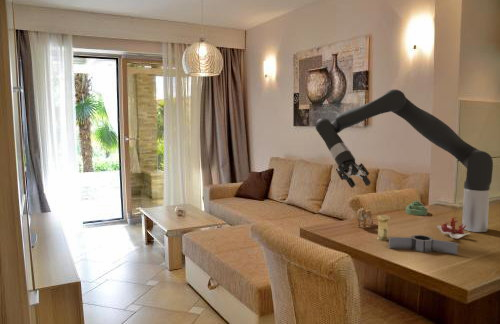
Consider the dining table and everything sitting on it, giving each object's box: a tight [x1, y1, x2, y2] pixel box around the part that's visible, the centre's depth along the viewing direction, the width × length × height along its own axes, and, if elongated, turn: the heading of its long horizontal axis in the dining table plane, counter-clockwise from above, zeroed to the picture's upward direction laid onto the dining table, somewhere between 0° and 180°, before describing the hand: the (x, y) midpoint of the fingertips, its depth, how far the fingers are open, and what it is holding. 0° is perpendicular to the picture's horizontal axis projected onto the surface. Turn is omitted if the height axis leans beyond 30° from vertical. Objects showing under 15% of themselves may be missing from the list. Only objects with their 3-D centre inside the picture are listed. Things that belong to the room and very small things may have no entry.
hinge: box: [388, 234, 459, 256], centre depth 141 cm, size 10×22×4 cm, turn 55°
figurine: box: [436, 217, 471, 240], centre depth 156 cm, size 15×12×7 cm
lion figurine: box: [355, 208, 374, 229], centre depth 173 cm, size 15×5×9 cm, turn 151°
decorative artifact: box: [405, 198, 429, 216], centre depth 195 cm, size 10×7×10 cm
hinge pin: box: [376, 214, 391, 241], centre depth 153 cm, size 5×5×9 cm
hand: (361, 185), depth 162 cm, fingers open, 8 cm apart
